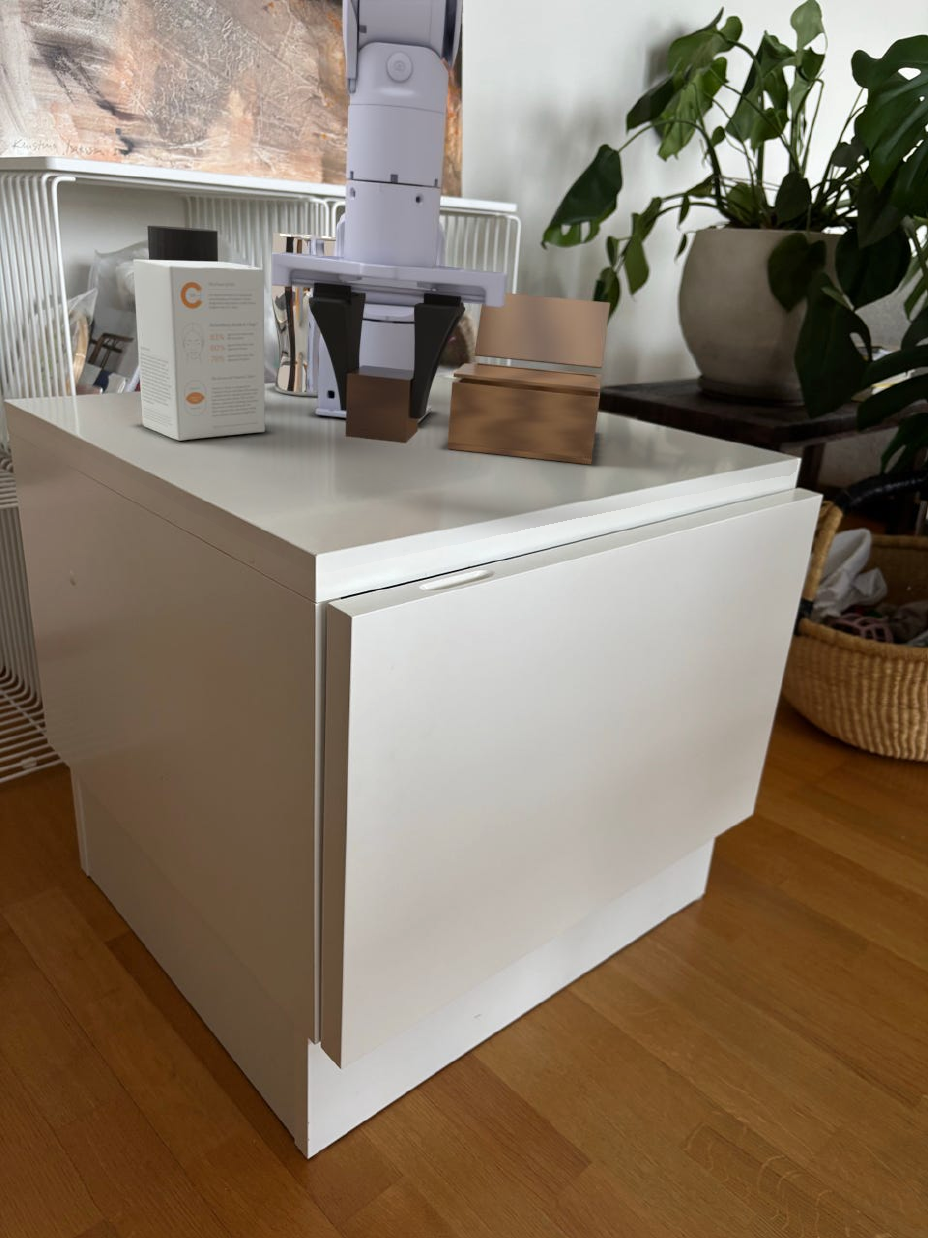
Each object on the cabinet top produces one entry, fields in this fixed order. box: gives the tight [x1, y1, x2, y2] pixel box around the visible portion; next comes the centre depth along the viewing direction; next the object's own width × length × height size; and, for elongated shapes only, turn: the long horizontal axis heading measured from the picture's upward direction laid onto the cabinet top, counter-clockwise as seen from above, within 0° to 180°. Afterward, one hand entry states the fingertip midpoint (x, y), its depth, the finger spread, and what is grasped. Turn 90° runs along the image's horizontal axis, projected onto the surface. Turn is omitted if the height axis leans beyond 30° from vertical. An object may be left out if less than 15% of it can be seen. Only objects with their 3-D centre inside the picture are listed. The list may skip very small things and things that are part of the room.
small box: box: [132, 258, 266, 442], centre depth 77 cm, size 8×6×13 cm
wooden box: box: [447, 361, 602, 465], centre depth 85 cm, size 12×13×6 cm
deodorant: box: [146, 225, 219, 262], centre depth 88 cm, size 6×6×15 cm
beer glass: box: [270, 232, 336, 397], centre depth 97 cm, size 7×7×15 cm
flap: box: [474, 292, 611, 369], centre depth 90 cm, size 12×6×1 cm
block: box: [345, 365, 419, 444], centre depth 63 cm, size 4×4×4 cm
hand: (382, 412), depth 63 cm, fingers closed on block, 4 cm apart
